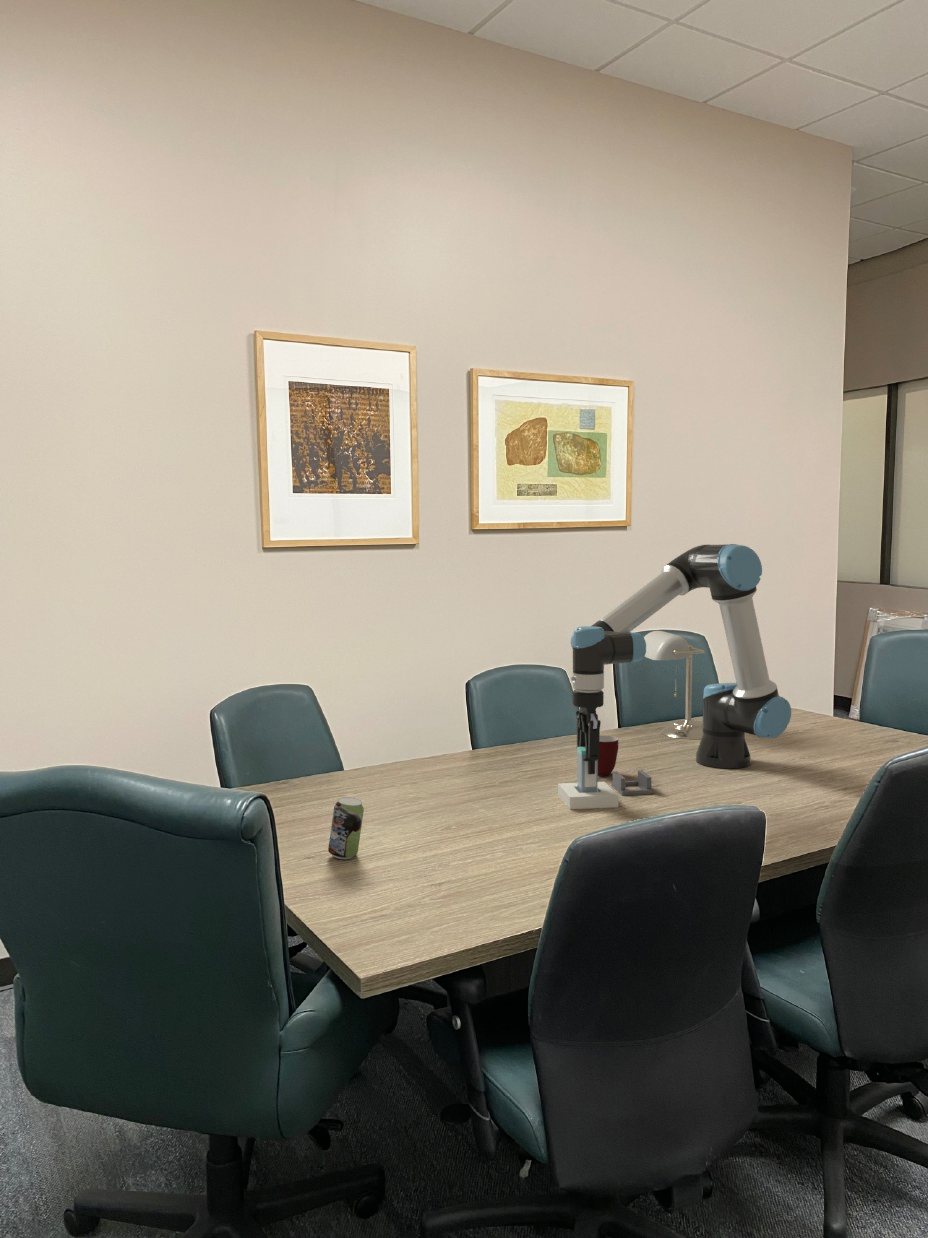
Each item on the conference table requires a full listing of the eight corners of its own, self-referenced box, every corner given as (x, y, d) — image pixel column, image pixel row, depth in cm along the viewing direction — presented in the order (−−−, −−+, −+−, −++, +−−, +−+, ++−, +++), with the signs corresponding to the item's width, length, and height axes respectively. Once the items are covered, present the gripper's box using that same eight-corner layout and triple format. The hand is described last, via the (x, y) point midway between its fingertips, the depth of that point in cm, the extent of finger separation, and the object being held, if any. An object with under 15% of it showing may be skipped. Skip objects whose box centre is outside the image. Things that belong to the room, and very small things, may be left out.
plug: (593, 793, 219) (593, 746, 217) (597, 798, 214) (598, 750, 213) (576, 794, 218) (577, 746, 217) (581, 799, 214) (581, 751, 213)
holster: (640, 784, 231) (640, 769, 231) (652, 794, 222) (652, 778, 222) (611, 785, 230) (611, 770, 230) (622, 795, 221) (622, 779, 221)
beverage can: (329, 852, 182) (328, 795, 181) (364, 850, 182) (364, 794, 181) (327, 862, 176) (326, 804, 174) (364, 861, 176) (363, 803, 175)
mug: (597, 781, 234) (597, 744, 233) (575, 775, 240) (576, 739, 239) (624, 775, 240) (624, 739, 239) (602, 769, 247) (603, 734, 246)
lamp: (631, 726, 303) (632, 629, 300) (699, 724, 306) (700, 628, 303) (656, 743, 277) (657, 637, 274) (730, 741, 280) (732, 636, 277)
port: (603, 793, 223) (603, 781, 223) (618, 807, 211) (618, 795, 211) (557, 795, 221) (557, 783, 221) (569, 809, 210) (569, 797, 209)
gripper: (564, 684, 222) (564, 775, 224) (582, 696, 205) (582, 794, 207) (593, 683, 223) (592, 773, 225) (613, 695, 206) (612, 792, 208)
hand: (587, 783), depth 216 cm, fingers open, 4 cm apart
